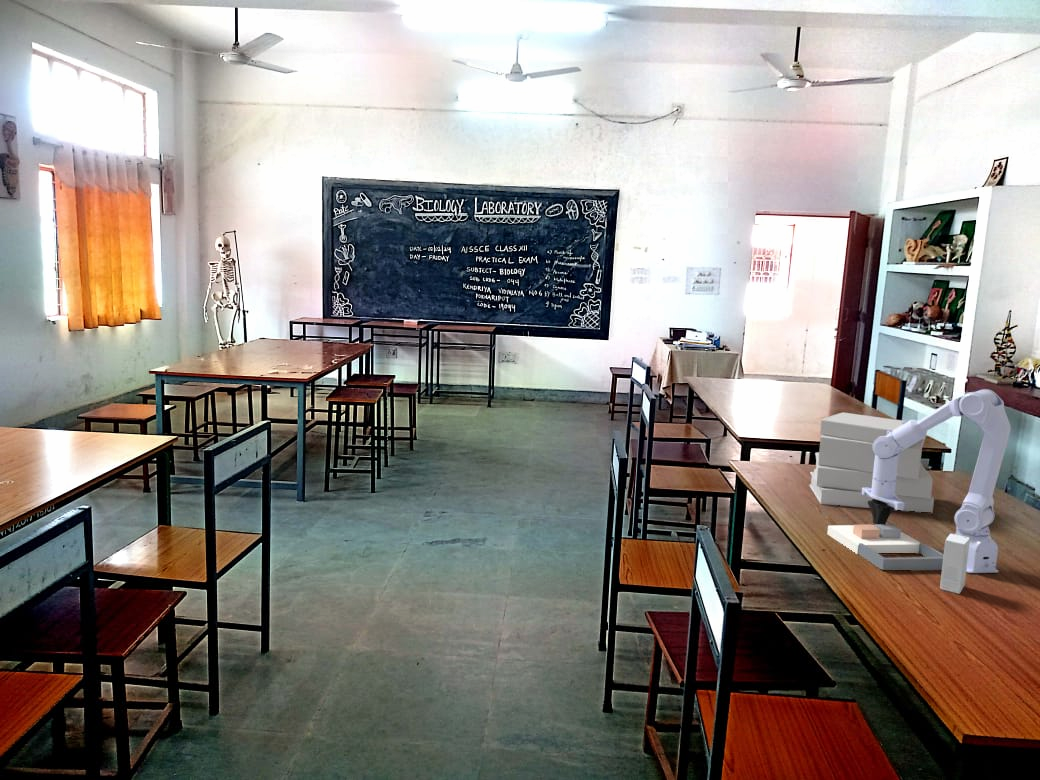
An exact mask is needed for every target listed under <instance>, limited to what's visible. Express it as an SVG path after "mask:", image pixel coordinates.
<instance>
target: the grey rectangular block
mask: <svg viewBox="0 0 1040 780" xmlns="http://www.w3.org/2000/svg"><path fill="white" fill-rule="evenodd" d="M875 527H876V528H878V529H880V533H879V537H881V538H882V539H885V538H900V535H901V532H902V529H901V528H900V527H898V526H896V525H894V524H892V523H891V524H889V523H886V524H875Z"/></svg>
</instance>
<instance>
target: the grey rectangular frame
mask: <svg viewBox="0 0 1040 780" xmlns="http://www.w3.org/2000/svg"><path fill="white" fill-rule="evenodd" d="M919 542H920V541H919ZM919 553H920V554H922V555H923V556H922V555H921V556H922V557H884V556H883V555H882V554H878V553H876V552H875V551H873V550H872V549H870V548H868V547H867V546H865V545H864V544H862V543H859V548H858V554H859V555H860V556H859V555H858V554H857V555H858V556H859V557H861V556H862V557H864V558H865V559H867V560H868V561H870V562H871V563H872V565H873V564H874V565H875V566H874V565H873V566H874V567H876V566H877V567H879V568H880V569H882V570H911V571H942V565H943V556H944V553H943V552H941V551H939V550H937V549H936V548H933V547H931V546H930V545H928V544H927V543H925V542H922V541H921V542H920V545H919ZM919 553H918V554H919ZM920 554H919V555H920ZM924 556H925V557H924ZM862 557H861V558H862ZM864 558H863V559H864ZM865 559H864V560H865ZM867 560H866V561H867ZM868 561H867V562H868ZM870 562H869V563H870ZM871 563H870V564H871ZM877 567H876V568H877ZM879 568H878V569H879ZM880 569H879V570H880ZM882 570H881V571H882Z"/></svg>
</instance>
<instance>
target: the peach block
mask: <svg viewBox="0 0 1040 780" xmlns="http://www.w3.org/2000/svg"><path fill="white" fill-rule="evenodd" d="M853 525H854V527H853V534H854V535H856V536H857V537H859V538H861V539H879V533H880V529H878V528H876V527H875V526H873V525H874V524H853Z"/></svg>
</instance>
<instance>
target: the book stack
mask: <svg viewBox="0 0 1040 780" xmlns="http://www.w3.org/2000/svg"><path fill="white" fill-rule="evenodd" d="M903 421H904V420H901V419H893V418H888V417H886V418H885V417H877V416H871V415H864V414H856V413H851V412H843V411H842V412H840V413H837V414H833V415H831V416H830V415H829V416H827V417H825V418H822V419H821V422H820V431H819V433H820V435H821V436H820V440H819V442H820V443H819V452H815V453H814V455H815V460H816V463H815V468H813V471H810V473H809V474H810V475H811V480H810V481H811V482H810V484H808V485H809V487H810V489H811V491H812V493H813V494H814V496H815V498H816V499H817V501H818V502H819V504H820V505H826V506H827V505H828V506H838V505H840V506H842V507H850V508H851V507H852V508H861V509H862V508H865V509H870V507H869V505H868V501H872V500H873V498H871V497H869V496H867V495H863V494H862V488H864V487H869V488H871V489H872V479H873V470H874V461H875V453H874V452H873V448H872V445H873V442H874V441H875V440H876V439H877V438H878V437H880V436H886V435H887V431H889V430H892V431H893V430H894V429H896V428H898V427H899V426H901V425H903V424H902V422H903ZM925 440H926V437H925V438H924V439H922V440H920V441H919V442H917V443H915V444H913V445H912V446H910V447H908V448H906V449H905V450H903V451H902V452H901V453H900V454H899V456H898V467H897V476H896V486H895V495H897V498H898V499H899V500H900V501H901V502H903V503H904V510H901V512H909V511H915V512H914V513H921V512H931V513H930V514H933V512H934V511H933V510H934V503H935V498H934V496H932V492H933V491H932V490H933V484H934V478H933V477H932V476H931V474H930V473H929V472H928V470H927V469H926V468H925V467H924V466H923V463H921V461H922V459H921V458H922V452H923V450H922V449H923V446H924V443H925ZM893 511H897V510H896V509H894V510H893Z"/></svg>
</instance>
